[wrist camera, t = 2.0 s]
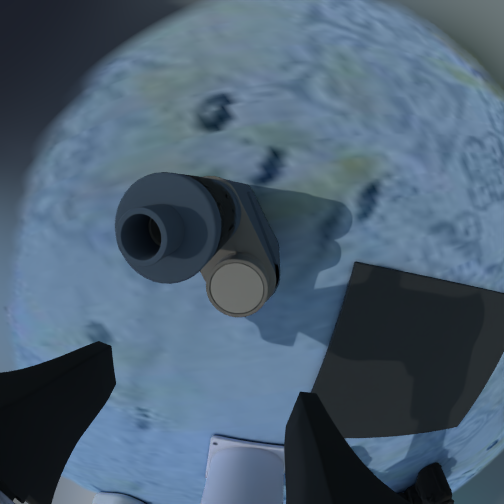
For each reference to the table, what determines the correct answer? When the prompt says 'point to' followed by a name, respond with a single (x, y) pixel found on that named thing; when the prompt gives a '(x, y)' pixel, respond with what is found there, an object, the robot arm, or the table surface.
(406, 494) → the film camera
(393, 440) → the table surface
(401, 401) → the mat
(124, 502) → the plastic bottle
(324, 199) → the table surface
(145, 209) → the vaping device
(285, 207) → the table surface
